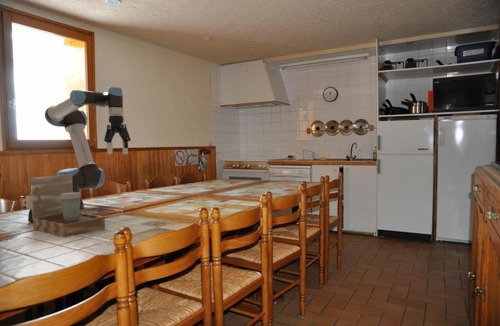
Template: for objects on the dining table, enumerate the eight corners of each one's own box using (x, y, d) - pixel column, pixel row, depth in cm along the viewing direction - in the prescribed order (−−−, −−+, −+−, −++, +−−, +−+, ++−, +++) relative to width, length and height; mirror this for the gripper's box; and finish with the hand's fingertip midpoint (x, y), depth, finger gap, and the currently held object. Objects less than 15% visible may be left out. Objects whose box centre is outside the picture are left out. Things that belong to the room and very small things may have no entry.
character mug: (50, 219, 169) (49, 193, 169) (44, 222, 162) (43, 196, 162) (27, 220, 168) (25, 194, 167) (20, 224, 161) (18, 197, 160)
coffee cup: (86, 219, 151) (85, 192, 150) (67, 223, 144) (65, 195, 143) (75, 217, 155) (74, 191, 155) (56, 220, 148) (55, 193, 147)
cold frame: (33, 229, 150) (30, 177, 149) (72, 221, 165) (70, 174, 164) (64, 237, 136) (61, 180, 135) (105, 227, 151) (102, 176, 150)
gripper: (96, 116, 190) (98, 154, 191) (124, 114, 177) (126, 154, 178) (108, 117, 196) (109, 153, 198) (136, 114, 183) (137, 154, 184)
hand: (117, 154), depth 188 cm, fingers open, 13 cm apart
